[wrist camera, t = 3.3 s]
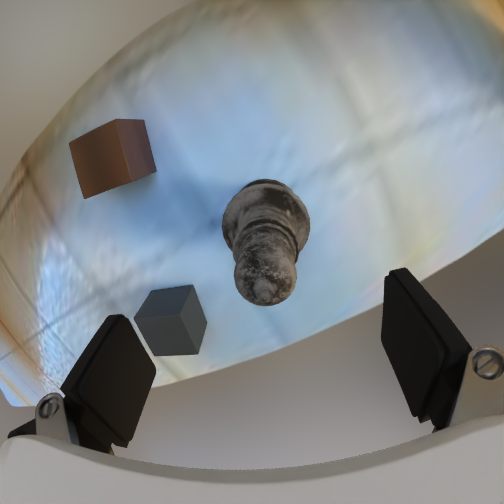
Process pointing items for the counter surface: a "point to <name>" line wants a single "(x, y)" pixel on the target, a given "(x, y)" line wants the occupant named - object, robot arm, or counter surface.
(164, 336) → the slate block
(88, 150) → the walnut block
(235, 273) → the stone chess piece
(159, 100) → the counter surface
